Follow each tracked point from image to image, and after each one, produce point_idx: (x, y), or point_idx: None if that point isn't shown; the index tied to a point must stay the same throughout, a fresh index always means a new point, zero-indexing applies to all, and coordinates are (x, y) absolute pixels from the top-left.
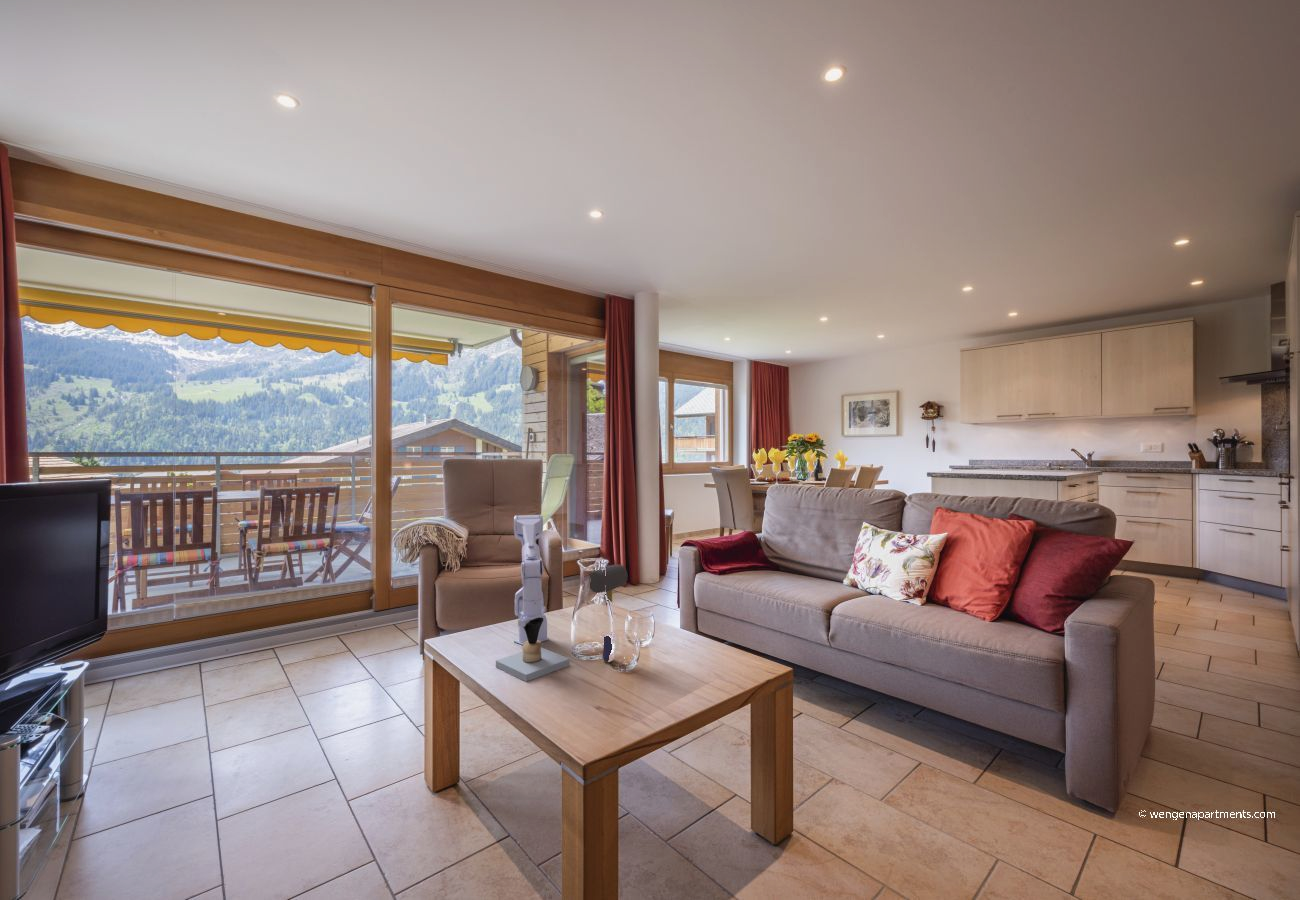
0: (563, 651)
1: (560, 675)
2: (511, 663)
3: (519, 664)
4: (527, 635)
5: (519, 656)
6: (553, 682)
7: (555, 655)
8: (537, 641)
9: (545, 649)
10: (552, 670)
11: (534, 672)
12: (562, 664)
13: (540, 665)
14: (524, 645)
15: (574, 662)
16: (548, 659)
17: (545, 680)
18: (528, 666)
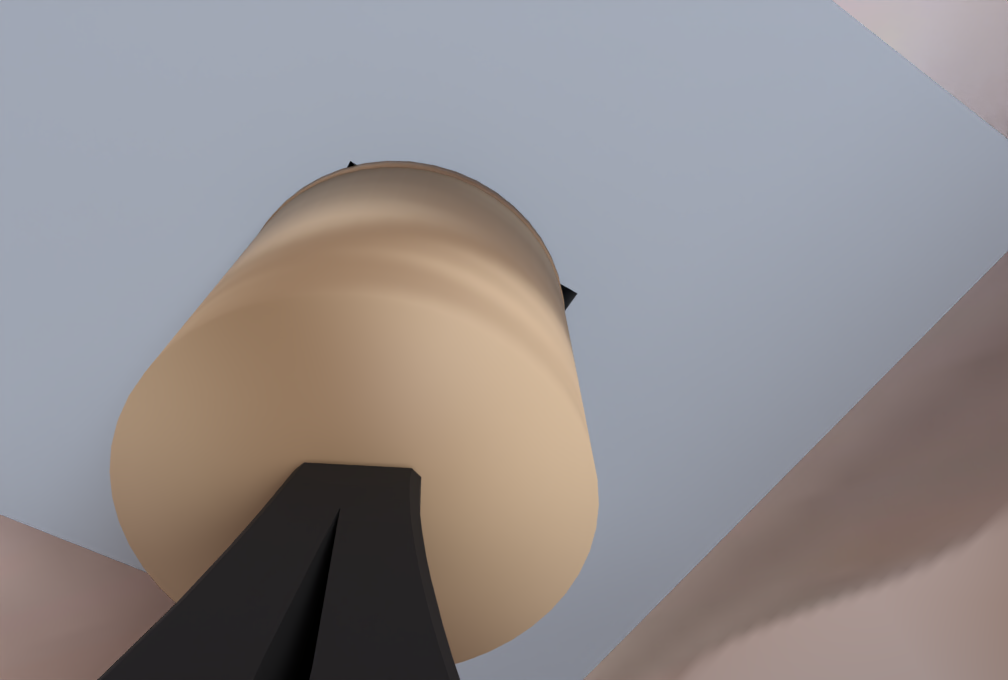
0: (989, 483)
1: None
2: (108, 14)
3: (131, 197)
4: (179, 630)
5: (501, 17)
6: (59, 649)
7: (625, 568)
8: (500, 582)
9: (882, 363)
10: None
11: (2, 506)
12: None
13: None
14: (131, 409)
15: (619, 675)
16: None
17: (64, 571)
18: (123, 371)
